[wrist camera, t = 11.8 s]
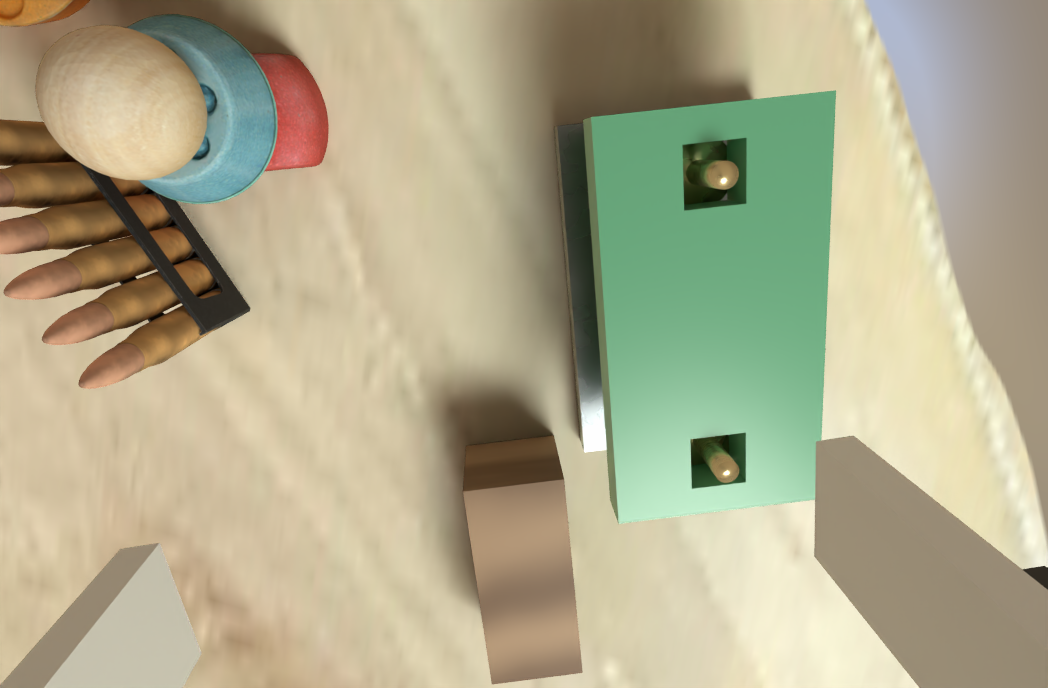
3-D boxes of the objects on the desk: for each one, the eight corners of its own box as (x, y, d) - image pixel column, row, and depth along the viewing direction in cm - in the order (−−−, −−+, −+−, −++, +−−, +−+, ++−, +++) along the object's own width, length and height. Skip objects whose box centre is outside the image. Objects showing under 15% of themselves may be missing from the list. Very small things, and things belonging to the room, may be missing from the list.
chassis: (553, 127, 31) (581, 116, 22) (754, 105, 31) (865, 85, 22) (580, 440, 36) (612, 538, 27) (752, 419, 36) (842, 509, 27)
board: (583, 119, 24) (591, 117, 23) (809, 95, 25) (835, 90, 23) (610, 499, 29) (618, 523, 28) (797, 476, 30) (818, 499, 28)
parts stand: (466, 445, 35) (462, 491, 31) (553, 435, 36) (564, 479, 31) (491, 619, 39) (492, 684, 34) (570, 609, 39) (582, 672, 34)
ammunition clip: (85, 135, 30) (-169, 125, 18) (117, 116, 29) (-119, 93, 18) (221, 326, 33) (77, 420, 21) (251, 309, 32) (122, 395, 21)
